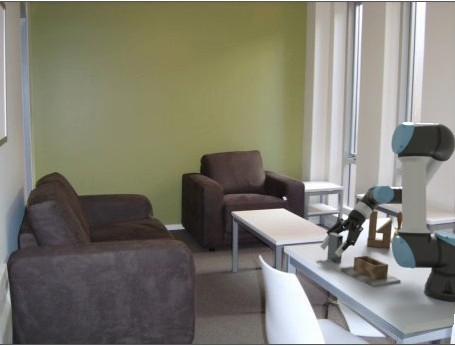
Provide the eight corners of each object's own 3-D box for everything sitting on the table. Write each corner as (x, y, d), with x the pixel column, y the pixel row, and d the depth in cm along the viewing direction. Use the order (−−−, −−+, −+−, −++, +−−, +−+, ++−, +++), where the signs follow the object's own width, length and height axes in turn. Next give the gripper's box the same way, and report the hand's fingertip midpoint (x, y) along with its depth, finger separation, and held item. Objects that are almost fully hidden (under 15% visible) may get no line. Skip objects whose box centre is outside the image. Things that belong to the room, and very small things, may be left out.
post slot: (400, 282, 209) (401, 266, 208) (373, 286, 203) (374, 270, 202) (366, 266, 227) (367, 252, 226) (340, 270, 220) (341, 255, 219)
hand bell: (402, 245, 261) (404, 214, 258) (386, 242, 266) (389, 211, 264) (409, 242, 267) (412, 212, 264) (394, 239, 272) (396, 209, 270)
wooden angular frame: (389, 248, 255) (393, 212, 252) (367, 246, 257) (370, 210, 255) (389, 246, 259) (392, 210, 256) (366, 244, 261) (369, 209, 258)
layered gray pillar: (341, 262, 232) (343, 235, 230) (335, 262, 230) (337, 236, 228) (332, 258, 237) (334, 232, 235) (327, 258, 236) (329, 233, 234)
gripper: (381, 225, 228) (350, 264, 223) (347, 214, 248) (318, 249, 243) (373, 214, 225) (341, 253, 220) (339, 203, 245) (309, 239, 240)
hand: (329, 251), depth 232 cm, fingers open, 10 cm apart
